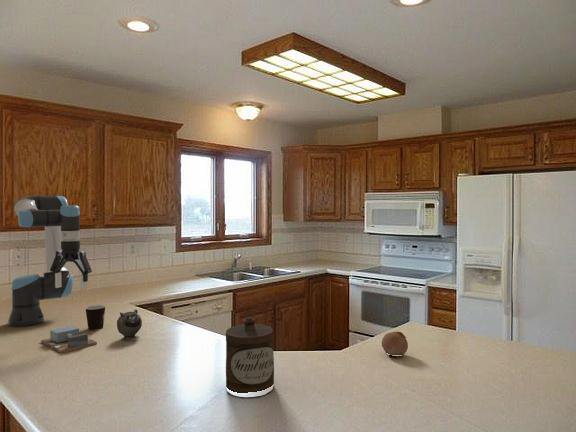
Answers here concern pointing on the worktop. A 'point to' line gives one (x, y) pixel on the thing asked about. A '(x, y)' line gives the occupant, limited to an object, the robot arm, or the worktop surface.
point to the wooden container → (249, 357)
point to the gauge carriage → (63, 333)
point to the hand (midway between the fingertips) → (71, 288)
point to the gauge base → (65, 345)
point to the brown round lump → (395, 343)
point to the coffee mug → (95, 317)
